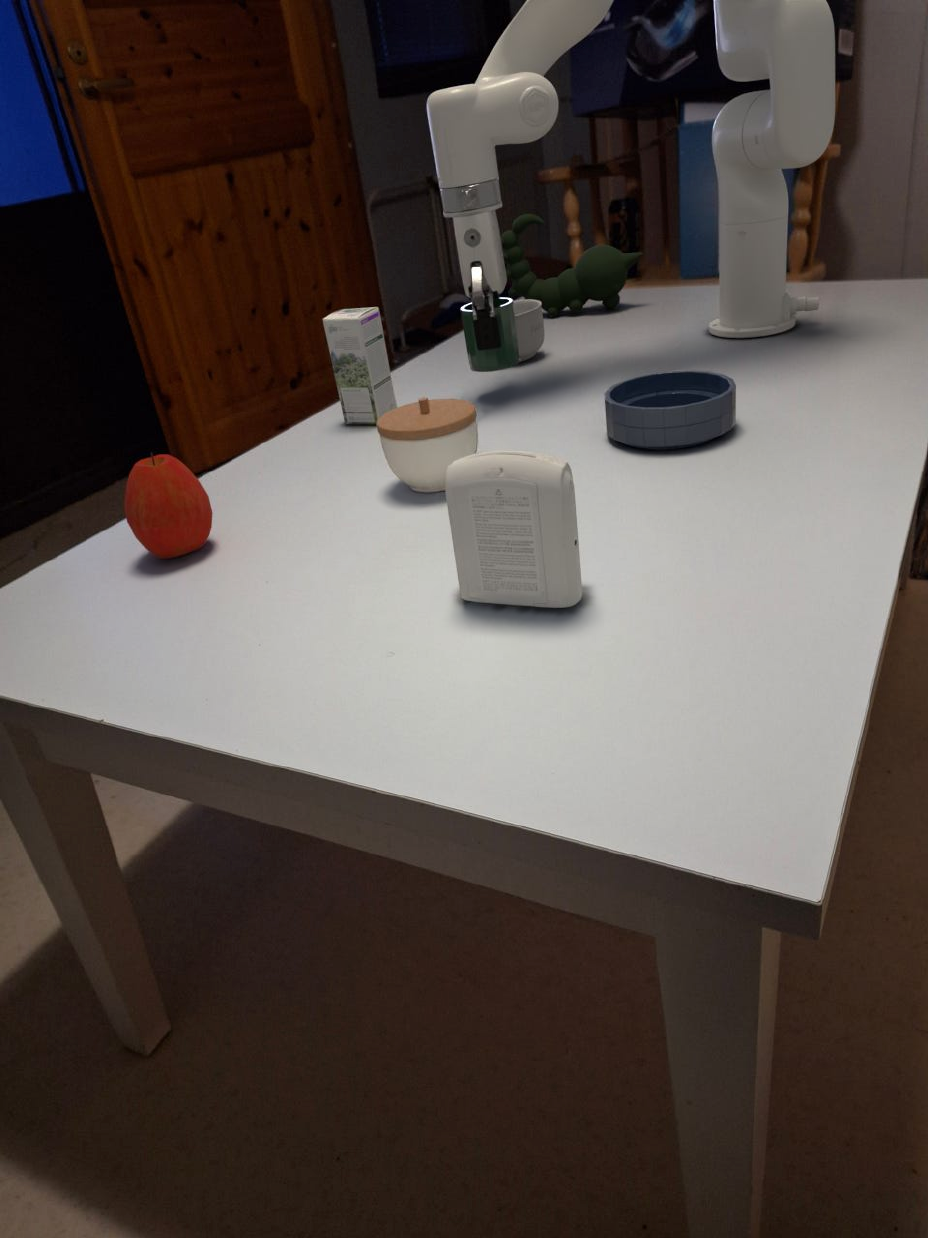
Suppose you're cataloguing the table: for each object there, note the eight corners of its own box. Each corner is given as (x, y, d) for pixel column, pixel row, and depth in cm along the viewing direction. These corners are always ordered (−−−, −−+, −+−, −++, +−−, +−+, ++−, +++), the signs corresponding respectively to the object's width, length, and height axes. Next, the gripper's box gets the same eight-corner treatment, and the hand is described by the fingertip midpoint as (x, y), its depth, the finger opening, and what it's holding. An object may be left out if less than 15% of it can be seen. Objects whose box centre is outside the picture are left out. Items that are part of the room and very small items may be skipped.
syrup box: (399, 411, 125) (380, 304, 118) (378, 425, 121) (357, 315, 114) (364, 411, 128) (344, 306, 121) (343, 425, 123) (320, 317, 116)
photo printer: (589, 587, 73) (577, 441, 67) (575, 613, 70) (561, 462, 64) (473, 581, 77) (451, 443, 71) (454, 605, 74) (430, 462, 68)
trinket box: (497, 463, 102) (486, 381, 97) (466, 501, 93) (453, 413, 88) (410, 465, 105) (396, 385, 101) (373, 501, 97) (356, 416, 92)
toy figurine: (511, 333, 166) (647, 307, 158) (489, 224, 158) (632, 191, 150) (521, 321, 174) (651, 296, 166) (500, 217, 165) (637, 185, 157)
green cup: (522, 353, 125) (514, 294, 122) (519, 367, 120) (511, 306, 116) (472, 360, 127) (463, 302, 123) (467, 374, 121) (457, 313, 117)
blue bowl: (725, 406, 107) (725, 364, 105) (744, 446, 95) (744, 400, 93) (605, 418, 110) (603, 378, 107) (609, 459, 98) (606, 414, 95)
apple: (178, 574, 87) (143, 470, 82) (124, 564, 91) (87, 464, 86) (238, 539, 93) (209, 440, 88) (184, 530, 97) (153, 435, 92)
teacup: (548, 362, 137) (543, 308, 133) (478, 372, 138) (471, 319, 134) (543, 342, 149) (538, 292, 145) (479, 351, 150) (472, 301, 146)
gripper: (495, 202, 105) (515, 354, 114) (505, 187, 120) (522, 322, 128) (432, 212, 106) (457, 362, 115) (450, 196, 121) (471, 330, 130)
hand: (491, 340), depth 122 cm, fingers closed on green cup, 7 cm apart
